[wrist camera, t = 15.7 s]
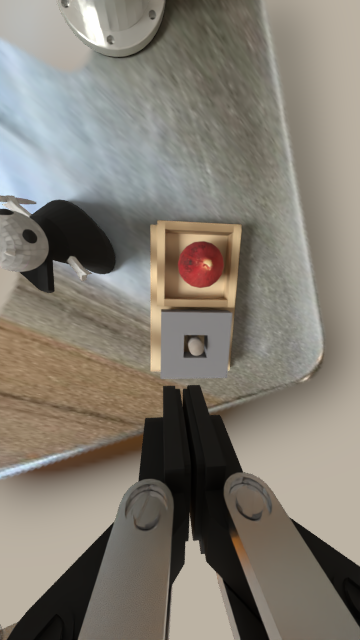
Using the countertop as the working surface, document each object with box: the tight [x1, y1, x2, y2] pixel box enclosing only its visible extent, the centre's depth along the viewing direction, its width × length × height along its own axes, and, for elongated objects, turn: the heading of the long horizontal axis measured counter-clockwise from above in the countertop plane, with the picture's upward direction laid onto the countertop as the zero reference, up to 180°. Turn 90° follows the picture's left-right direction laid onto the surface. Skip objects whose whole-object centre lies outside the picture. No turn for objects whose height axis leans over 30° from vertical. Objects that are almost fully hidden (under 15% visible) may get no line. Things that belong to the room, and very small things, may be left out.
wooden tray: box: [151, 220, 242, 371], centre depth 30 cm, size 22×13×6 cm, turn 178°
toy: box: [0, 196, 115, 293], centre depth 22 cm, size 12×7×15 cm, turn 43°
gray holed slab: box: [161, 309, 232, 379], centre depth 30 cm, size 10×10×2 cm
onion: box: [178, 241, 224, 288], centre depth 26 cm, size 6×6×8 cm
